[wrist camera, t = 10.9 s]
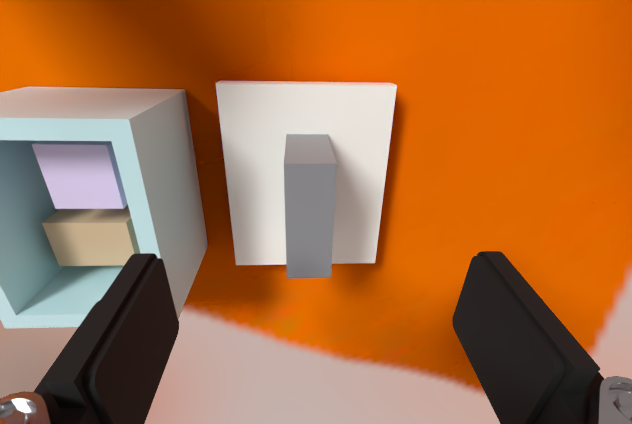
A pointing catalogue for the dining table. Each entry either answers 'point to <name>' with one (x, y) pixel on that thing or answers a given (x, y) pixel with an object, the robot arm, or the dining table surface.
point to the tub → (93, 197)
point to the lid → (305, 171)
